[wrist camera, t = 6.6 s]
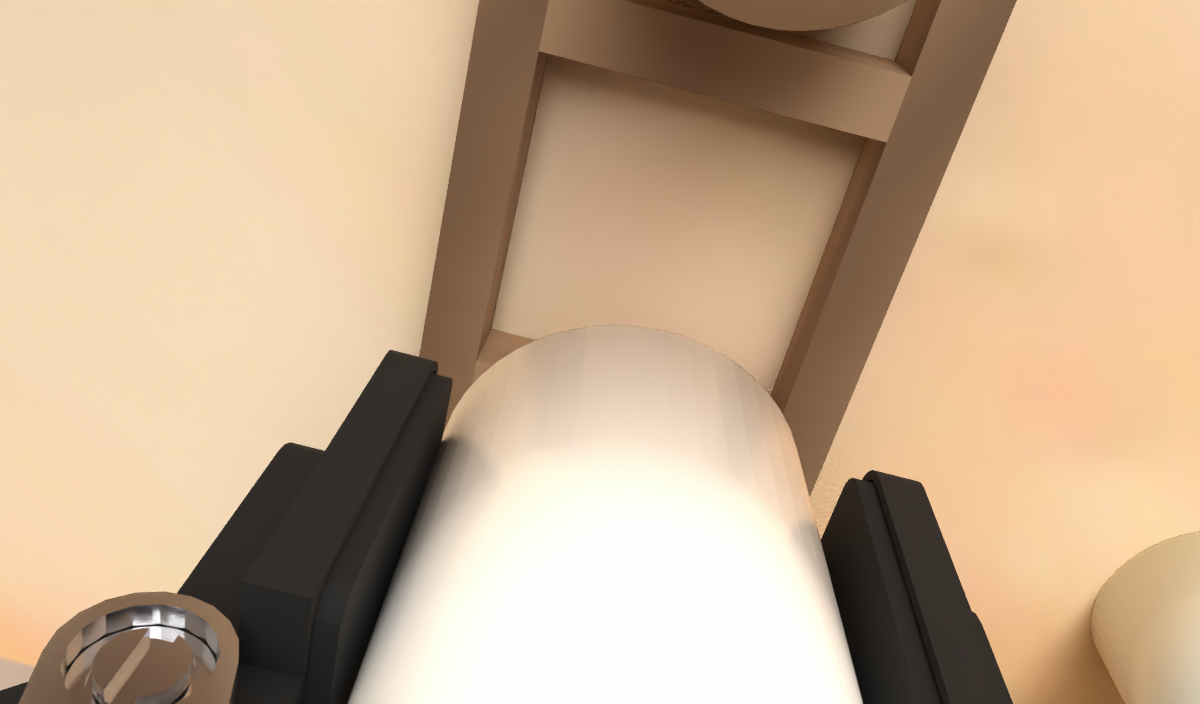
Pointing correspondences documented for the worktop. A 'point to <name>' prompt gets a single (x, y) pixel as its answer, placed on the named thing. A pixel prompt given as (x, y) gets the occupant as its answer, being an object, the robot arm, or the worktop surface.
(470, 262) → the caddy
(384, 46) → the worktop surface
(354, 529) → the robot arm
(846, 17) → the honey jar
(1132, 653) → the sugar pot
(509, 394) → the cylinder
